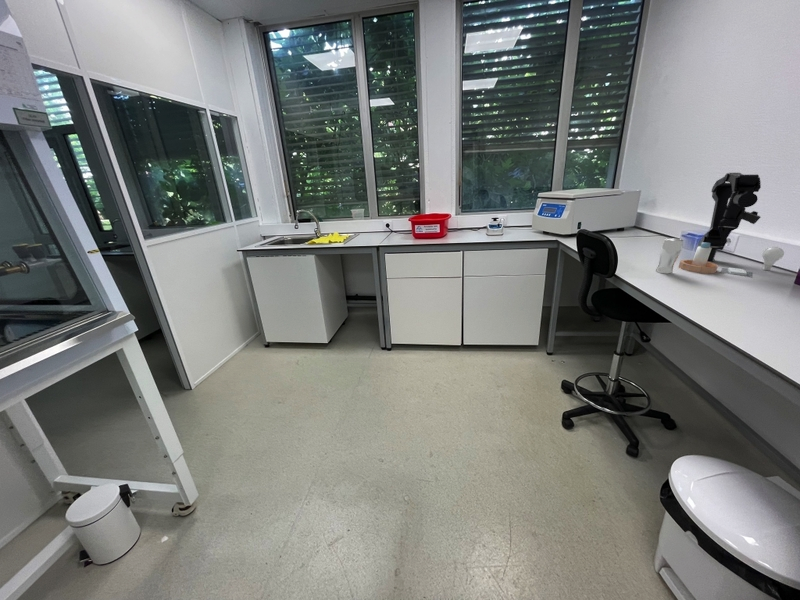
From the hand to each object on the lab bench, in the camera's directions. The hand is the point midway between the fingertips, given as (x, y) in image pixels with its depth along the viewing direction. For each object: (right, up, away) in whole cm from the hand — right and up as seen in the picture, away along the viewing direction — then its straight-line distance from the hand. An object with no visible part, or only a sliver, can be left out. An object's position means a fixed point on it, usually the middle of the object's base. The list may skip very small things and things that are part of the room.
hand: (723, 240), depth 146 cm
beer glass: (-28, -15, 0) cm, 31 cm away
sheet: (+2, -15, -4) cm, 16 cm away
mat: (+2, -15, -4) cm, 16 cm away
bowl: (-11, -13, +2) cm, 17 cm away
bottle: (-10, -13, +2) cm, 17 cm away
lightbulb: (+18, -14, -1) cm, 23 cm away
